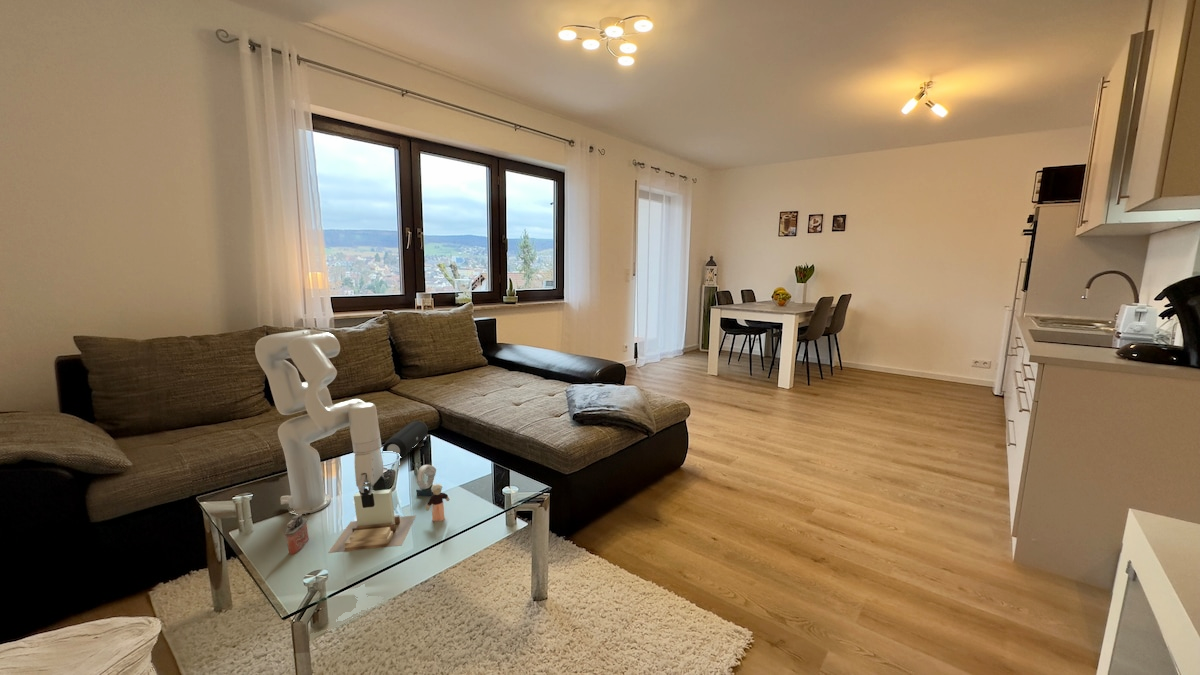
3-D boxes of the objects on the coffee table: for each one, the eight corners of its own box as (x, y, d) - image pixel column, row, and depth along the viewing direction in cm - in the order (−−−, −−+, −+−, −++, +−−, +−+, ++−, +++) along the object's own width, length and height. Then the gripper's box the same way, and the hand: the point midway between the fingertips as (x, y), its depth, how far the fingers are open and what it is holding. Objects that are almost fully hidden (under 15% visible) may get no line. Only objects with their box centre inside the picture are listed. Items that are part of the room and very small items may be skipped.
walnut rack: (328, 556, 131) (326, 544, 131) (351, 524, 147) (349, 514, 146) (402, 548, 134) (400, 537, 133) (416, 518, 149) (415, 508, 149)
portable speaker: (404, 463, 192) (402, 440, 190) (381, 463, 193) (378, 440, 191) (430, 439, 217) (428, 418, 215) (410, 439, 218) (407, 419, 216)
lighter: (301, 541, 139) (296, 510, 137) (313, 540, 139) (308, 509, 138) (285, 558, 131) (280, 525, 129) (298, 557, 131) (292, 524, 130)
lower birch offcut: (345, 548, 133) (344, 543, 133) (350, 539, 137) (350, 535, 137) (388, 543, 135) (388, 538, 134) (393, 535, 139) (392, 530, 138)
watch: (440, 490, 168) (437, 461, 166) (429, 501, 160) (425, 471, 158) (426, 489, 169) (423, 460, 167) (414, 500, 161) (410, 470, 159)
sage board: (358, 533, 140) (353, 496, 138) (361, 528, 143) (356, 492, 141) (393, 529, 142) (388, 493, 140) (395, 525, 144) (391, 489, 142)
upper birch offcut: (350, 542, 133) (349, 537, 133) (355, 535, 137) (354, 530, 137) (386, 538, 135) (386, 533, 134) (390, 531, 138) (390, 526, 138)
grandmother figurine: (434, 528, 143) (430, 490, 141) (426, 525, 145) (422, 487, 143) (454, 516, 150) (450, 479, 148) (446, 513, 152) (442, 477, 150)
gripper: (364, 435, 146) (371, 486, 148) (341, 457, 129) (350, 515, 131) (389, 433, 147) (396, 484, 149) (369, 455, 130) (377, 512, 132)
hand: (374, 498), depth 140 cm, fingers open, 9 cm apart
